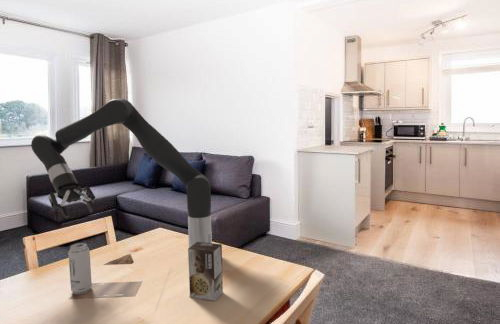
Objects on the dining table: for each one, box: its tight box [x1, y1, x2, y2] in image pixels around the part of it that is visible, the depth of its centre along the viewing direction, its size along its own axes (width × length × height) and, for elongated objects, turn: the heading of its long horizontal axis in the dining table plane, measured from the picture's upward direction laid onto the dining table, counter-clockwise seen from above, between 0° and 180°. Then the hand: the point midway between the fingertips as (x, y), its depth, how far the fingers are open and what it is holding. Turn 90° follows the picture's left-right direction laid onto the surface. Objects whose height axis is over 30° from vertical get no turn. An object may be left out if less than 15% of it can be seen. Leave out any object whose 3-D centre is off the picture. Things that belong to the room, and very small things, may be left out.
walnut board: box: [68, 280, 143, 300], centre depth 111 cm, size 20×10×1 cm, turn 94°
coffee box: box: [187, 242, 224, 302], centre depth 109 cm, size 9×6×16 cm
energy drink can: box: [67, 242, 93, 294], centre depth 110 cm, size 6×6×15 cm
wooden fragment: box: [103, 253, 134, 266], centre depth 131 cm, size 26×11×1 cm, turn 168°
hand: (80, 213), depth 121 cm, fingers open, 8 cm apart
